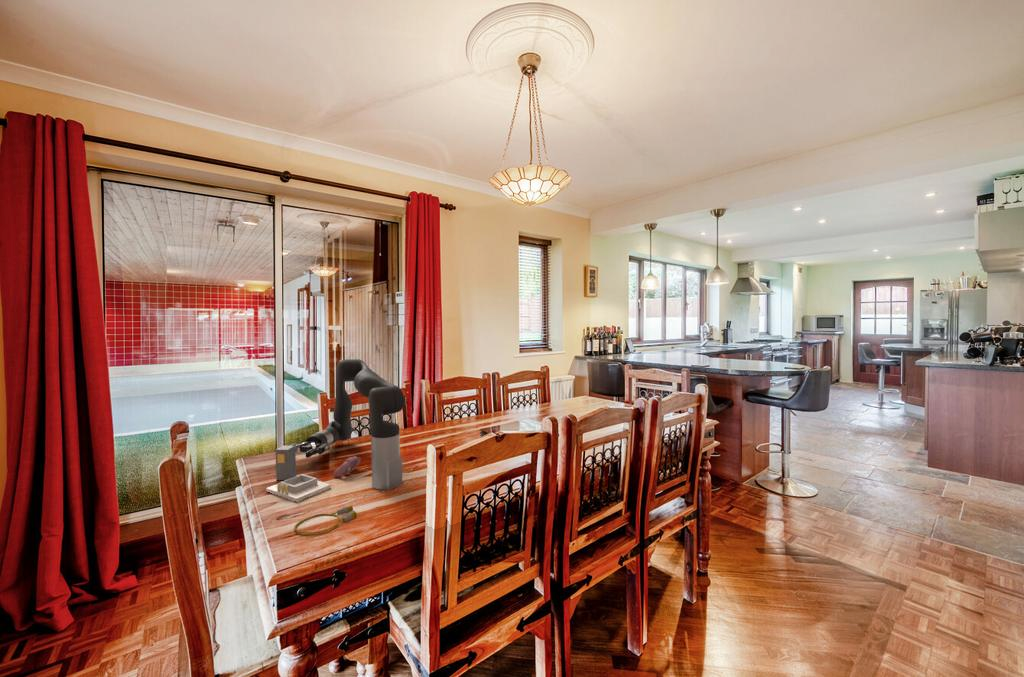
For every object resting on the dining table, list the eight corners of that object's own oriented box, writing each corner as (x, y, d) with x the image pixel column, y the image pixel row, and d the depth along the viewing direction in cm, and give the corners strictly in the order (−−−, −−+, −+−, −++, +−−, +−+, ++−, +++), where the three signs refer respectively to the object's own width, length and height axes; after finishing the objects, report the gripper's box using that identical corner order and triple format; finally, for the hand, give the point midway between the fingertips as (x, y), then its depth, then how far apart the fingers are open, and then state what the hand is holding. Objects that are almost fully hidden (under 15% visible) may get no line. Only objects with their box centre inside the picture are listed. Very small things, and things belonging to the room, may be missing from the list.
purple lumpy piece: (341, 482, 144) (349, 466, 143) (331, 476, 145) (338, 459, 144) (357, 472, 154) (364, 456, 153) (347, 466, 154) (354, 450, 153)
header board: (330, 487, 136) (330, 477, 136) (296, 502, 125) (296, 490, 125) (300, 478, 143) (300, 468, 143) (266, 491, 133) (265, 480, 133)
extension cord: (357, 529, 110) (356, 522, 110) (291, 541, 104) (291, 533, 104) (356, 509, 122) (356, 503, 121) (297, 519, 116) (297, 512, 116)
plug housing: (296, 475, 146) (295, 445, 146) (287, 481, 141) (286, 450, 141) (284, 475, 146) (283, 445, 146) (275, 481, 141) (274, 450, 141)
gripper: (302, 432, 166) (276, 444, 150) (336, 432, 165) (313, 445, 149) (302, 450, 166) (277, 464, 150) (336, 451, 165) (314, 465, 149)
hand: (295, 455), depth 149 cm, fingers open, 8 cm apart
